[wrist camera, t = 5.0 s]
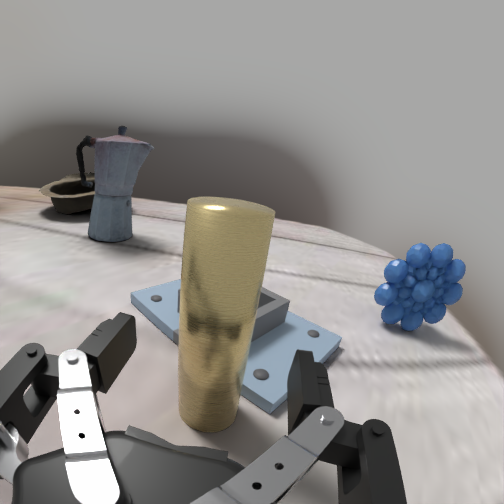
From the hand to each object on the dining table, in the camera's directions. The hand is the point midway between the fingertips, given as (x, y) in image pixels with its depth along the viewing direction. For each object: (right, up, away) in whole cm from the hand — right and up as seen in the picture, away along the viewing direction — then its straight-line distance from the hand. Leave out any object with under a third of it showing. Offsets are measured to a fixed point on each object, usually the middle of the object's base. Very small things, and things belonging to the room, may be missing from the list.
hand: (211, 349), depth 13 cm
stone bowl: (-42, +15, +49) cm, 67 cm away
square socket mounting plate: (0, -3, +15) cm, 15 cm away
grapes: (+22, -5, +19) cm, 30 cm away
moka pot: (-25, +8, +34) cm, 43 cm away
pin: (-1, -6, +4) cm, 8 cm away
